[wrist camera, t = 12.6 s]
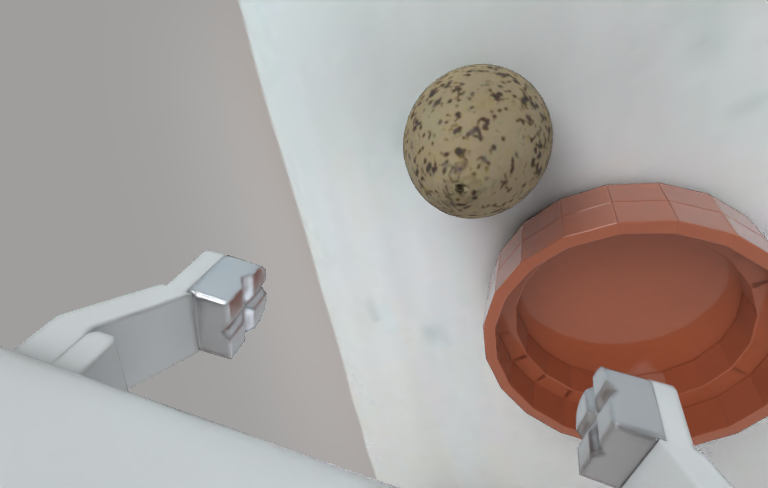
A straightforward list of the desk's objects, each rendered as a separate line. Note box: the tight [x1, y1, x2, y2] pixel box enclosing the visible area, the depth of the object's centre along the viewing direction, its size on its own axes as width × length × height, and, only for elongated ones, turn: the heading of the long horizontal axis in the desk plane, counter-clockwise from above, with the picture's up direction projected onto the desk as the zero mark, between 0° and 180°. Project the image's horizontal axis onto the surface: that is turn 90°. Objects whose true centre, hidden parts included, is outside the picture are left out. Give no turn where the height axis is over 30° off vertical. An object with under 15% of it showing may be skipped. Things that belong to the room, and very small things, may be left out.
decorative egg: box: [403, 64, 553, 219], centre depth 23 cm, size 7×7×10 cm
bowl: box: [483, 183, 768, 446], centre depth 29 cm, size 16×16×5 cm
